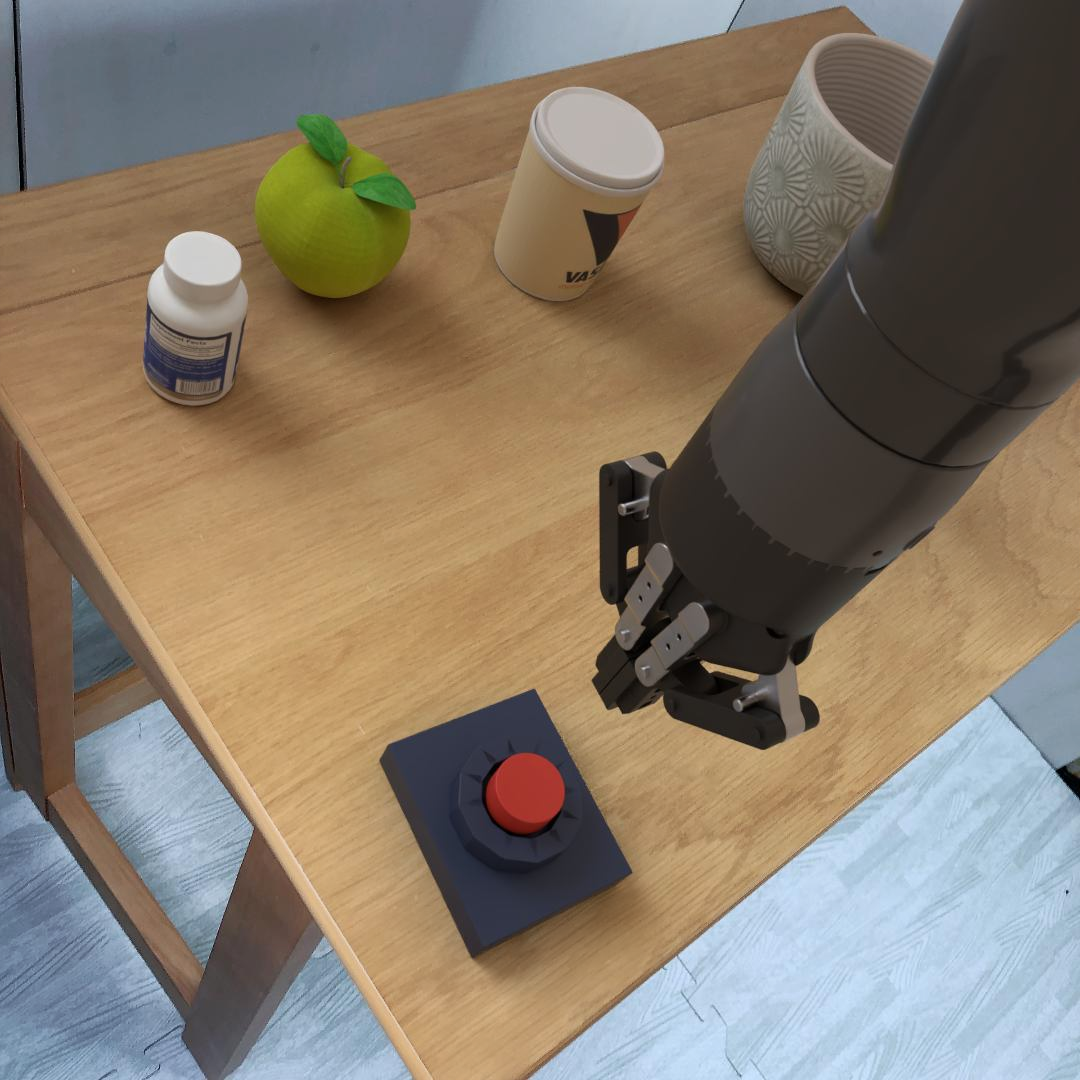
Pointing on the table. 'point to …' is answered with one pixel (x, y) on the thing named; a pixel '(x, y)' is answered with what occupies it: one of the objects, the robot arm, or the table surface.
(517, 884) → the button block
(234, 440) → the table surface
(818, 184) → the planter
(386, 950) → the table surface
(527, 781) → the button
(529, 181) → the coffee cup
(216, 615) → the table surface
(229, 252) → the pill bottle
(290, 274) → the fruit
